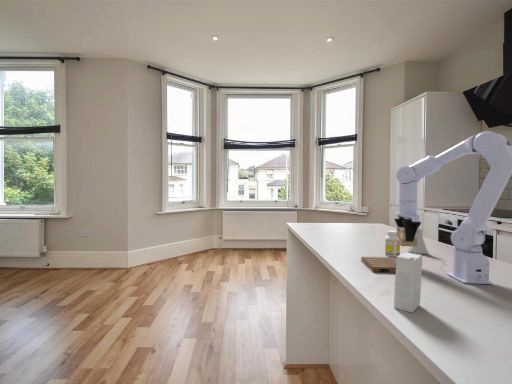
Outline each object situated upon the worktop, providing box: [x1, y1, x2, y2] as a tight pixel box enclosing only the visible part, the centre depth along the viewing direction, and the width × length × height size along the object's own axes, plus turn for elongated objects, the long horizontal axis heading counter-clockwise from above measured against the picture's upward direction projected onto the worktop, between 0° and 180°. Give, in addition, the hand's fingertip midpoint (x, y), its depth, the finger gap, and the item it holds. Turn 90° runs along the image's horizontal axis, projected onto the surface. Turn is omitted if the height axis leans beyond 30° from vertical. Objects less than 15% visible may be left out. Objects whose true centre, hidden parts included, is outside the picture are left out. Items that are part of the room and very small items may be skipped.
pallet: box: [360, 256, 397, 274], centre depth 106 cm, size 14×12×2 cm
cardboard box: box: [396, 226, 418, 247], centre depth 109 cm, size 5×5×6 cm
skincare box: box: [393, 252, 423, 313], centre depth 71 cm, size 6×4×12 cm
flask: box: [407, 228, 429, 255], centre depth 129 cm, size 7×7×10 cm
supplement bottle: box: [384, 230, 401, 258], centre depth 123 cm, size 5×5×10 cm
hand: (406, 239), depth 109 cm, fingers closed on cardboard box, 5 cm apart
